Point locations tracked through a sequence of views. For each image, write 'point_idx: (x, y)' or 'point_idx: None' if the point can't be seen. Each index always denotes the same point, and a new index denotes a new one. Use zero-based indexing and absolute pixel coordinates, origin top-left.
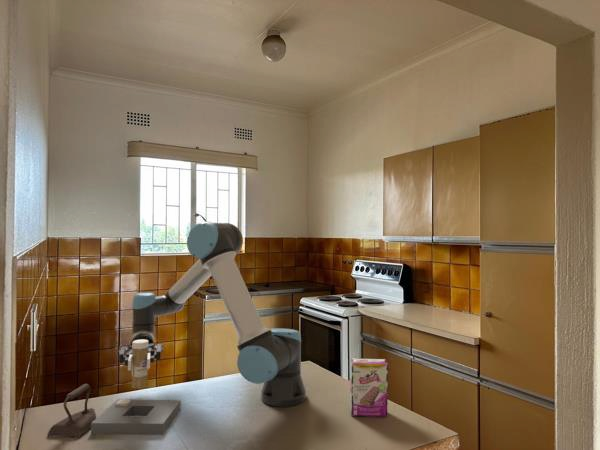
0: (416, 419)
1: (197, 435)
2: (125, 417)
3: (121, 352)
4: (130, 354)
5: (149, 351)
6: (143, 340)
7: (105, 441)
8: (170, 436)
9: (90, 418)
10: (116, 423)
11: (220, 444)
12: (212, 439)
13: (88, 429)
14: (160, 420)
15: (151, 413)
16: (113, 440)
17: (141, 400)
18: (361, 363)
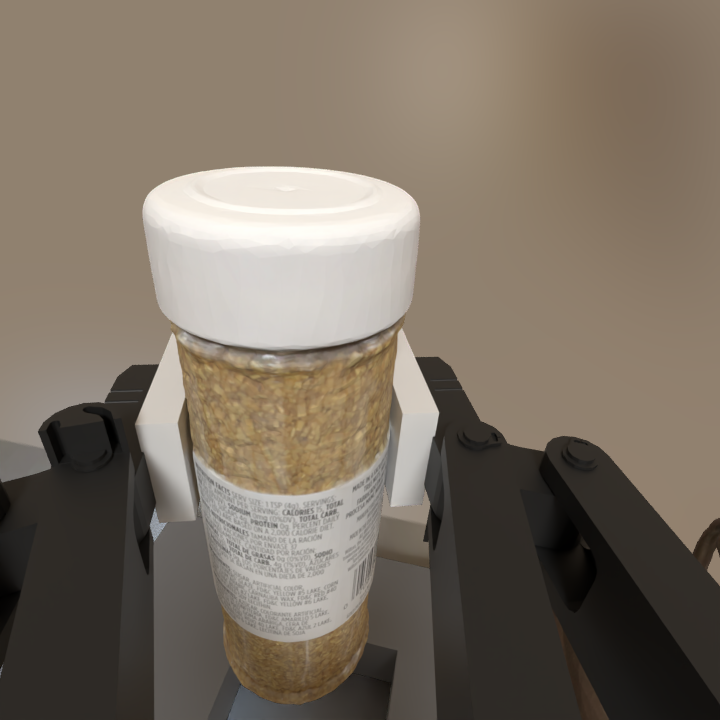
0: None
1: None
2: (369, 622)
3: (663, 554)
4: (427, 409)
5: (121, 522)
6: (232, 190)
7: (419, 543)
8: (155, 525)
9: (599, 705)
10: (398, 561)
11: (7, 441)
12: (10, 472)
13: None
14: (181, 543)
15: (216, 648)
16: (389, 544)
17: None
18: None
